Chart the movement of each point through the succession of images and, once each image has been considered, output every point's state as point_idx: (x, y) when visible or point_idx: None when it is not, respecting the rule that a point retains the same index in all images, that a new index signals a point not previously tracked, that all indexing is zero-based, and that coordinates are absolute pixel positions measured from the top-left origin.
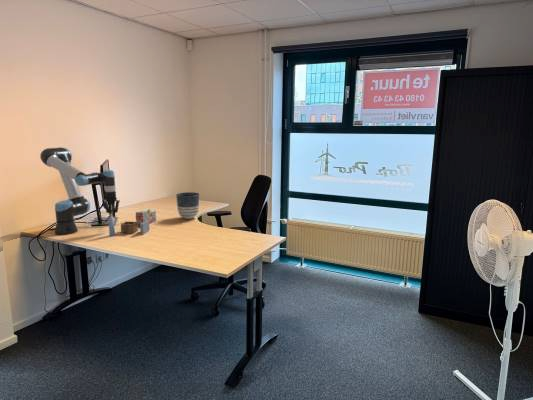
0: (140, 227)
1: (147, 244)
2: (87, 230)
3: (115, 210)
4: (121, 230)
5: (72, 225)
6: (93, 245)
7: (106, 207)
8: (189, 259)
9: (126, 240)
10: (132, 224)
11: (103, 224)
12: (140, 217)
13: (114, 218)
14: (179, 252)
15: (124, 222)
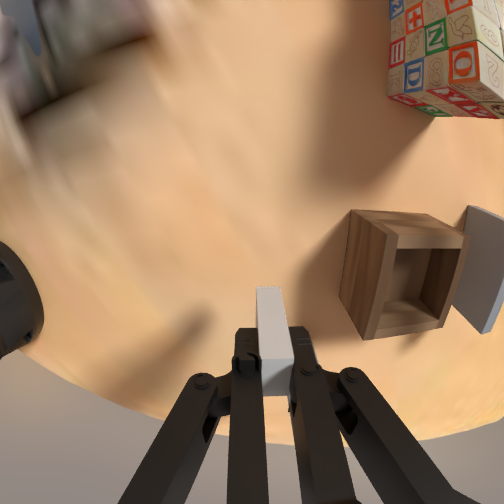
0: (470, 322)
1: (451, 389)
2: (57, 246)
3: (351, 428)
4: (348, 309)
5: (13, 329)
6: (270, 441)
7: (193, 480)
8: (489, 411)
9: (388, 384)
10: (443, 320)
11: (69, 67)
12: (475, 107)
13: (283, 306)
14: (491, 396)
15: (381, 276)
